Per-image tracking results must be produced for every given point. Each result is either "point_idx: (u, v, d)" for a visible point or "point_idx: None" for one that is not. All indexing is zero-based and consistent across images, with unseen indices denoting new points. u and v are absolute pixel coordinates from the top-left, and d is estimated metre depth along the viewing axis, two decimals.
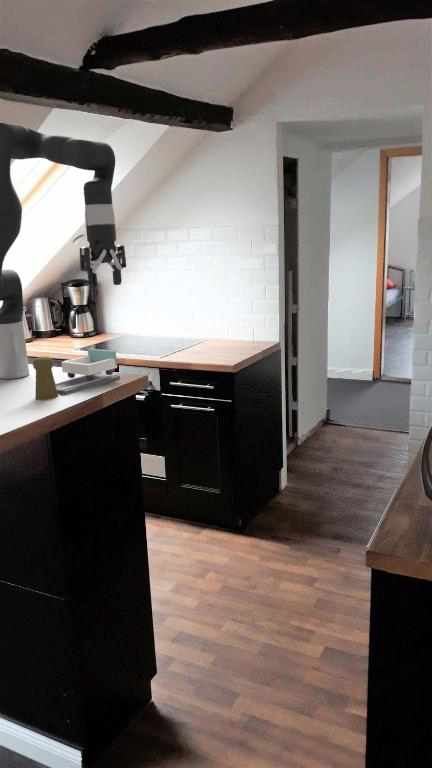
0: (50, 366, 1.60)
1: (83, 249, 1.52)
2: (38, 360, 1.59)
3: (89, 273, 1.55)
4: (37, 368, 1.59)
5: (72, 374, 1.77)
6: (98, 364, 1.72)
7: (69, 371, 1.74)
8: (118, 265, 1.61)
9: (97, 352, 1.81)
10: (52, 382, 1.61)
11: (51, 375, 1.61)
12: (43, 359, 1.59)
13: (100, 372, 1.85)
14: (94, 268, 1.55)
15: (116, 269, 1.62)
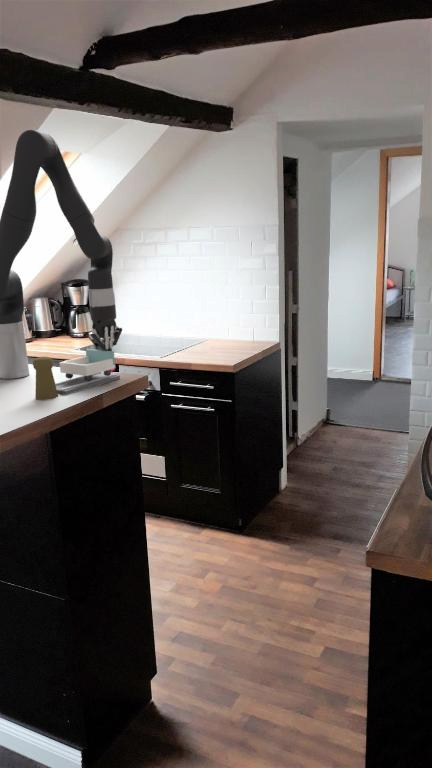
0: (50, 366, 1.60)
1: (90, 336, 1.76)
2: (38, 360, 1.59)
3: (103, 349, 1.81)
4: (37, 368, 1.59)
5: (70, 375, 1.76)
6: (96, 365, 1.72)
7: (67, 372, 1.74)
8: (111, 343, 1.82)
9: (95, 352, 1.80)
10: (52, 382, 1.61)
11: (51, 375, 1.61)
12: (43, 359, 1.59)
13: (100, 372, 1.85)
14: (106, 345, 1.80)
15: None
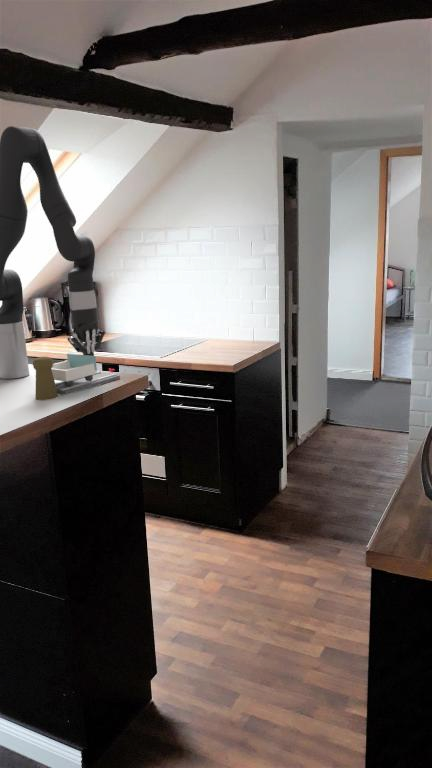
0: (50, 366, 1.60)
1: (71, 340, 1.70)
2: (38, 360, 1.59)
3: (84, 353, 1.75)
4: (37, 368, 1.59)
5: None
6: (76, 370, 1.66)
7: None
8: (92, 347, 1.76)
9: (76, 357, 1.75)
10: (52, 382, 1.61)
11: (51, 375, 1.61)
12: (43, 359, 1.59)
13: (100, 372, 1.85)
14: (88, 350, 1.75)
15: None
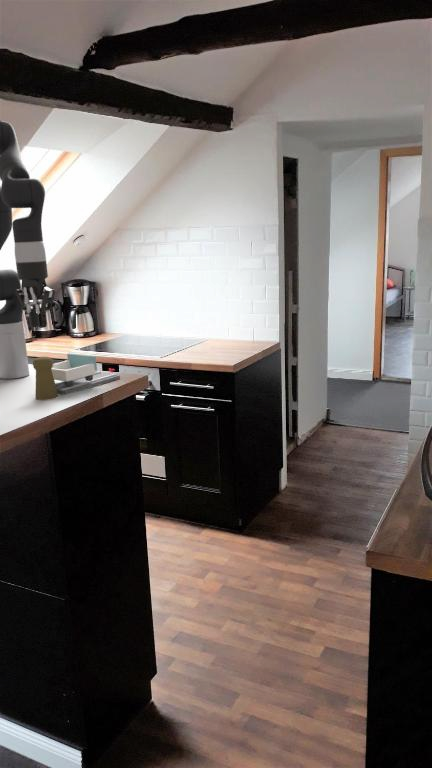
0: (50, 366, 1.60)
1: None
2: (38, 360, 1.59)
3: None
4: (37, 368, 1.59)
5: None
6: (77, 370, 1.66)
7: None
8: (37, 307, 1.55)
9: (77, 357, 1.75)
10: (52, 382, 1.61)
11: (51, 375, 1.61)
12: (43, 359, 1.59)
13: (100, 372, 1.85)
14: (27, 308, 1.58)
15: None
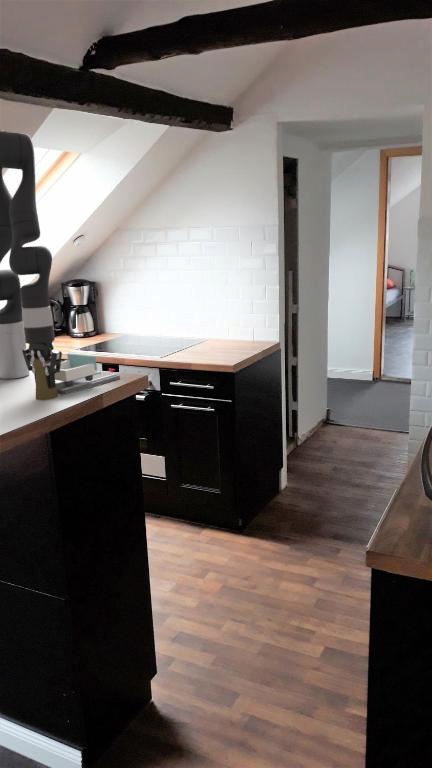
0: None
1: None
2: (38, 360, 1.59)
3: None
4: (37, 368, 1.59)
5: None
6: (77, 370, 1.66)
7: None
8: (46, 369, 1.59)
9: (77, 357, 1.75)
10: None
11: None
12: None
13: (100, 372, 1.85)
14: (33, 369, 1.62)
15: None
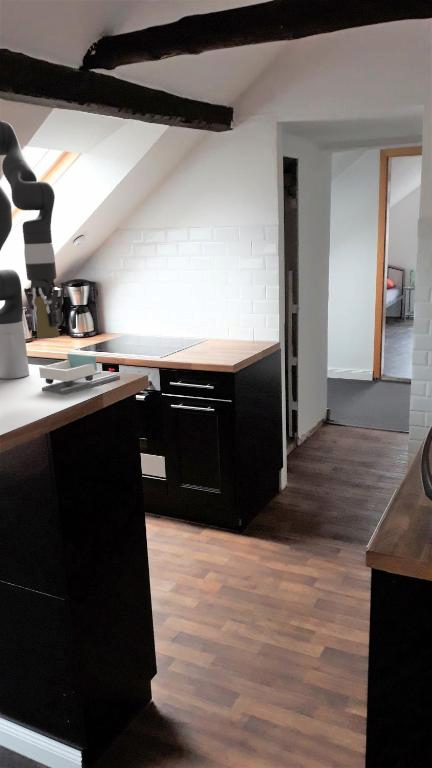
0: None
1: None
2: (39, 297, 1.58)
3: None
4: (38, 306, 1.59)
5: (50, 380, 1.70)
6: (77, 370, 1.66)
7: (47, 377, 1.68)
8: (47, 307, 1.59)
9: (77, 357, 1.75)
10: None
11: None
12: None
13: (100, 372, 1.85)
14: (34, 307, 1.62)
15: None
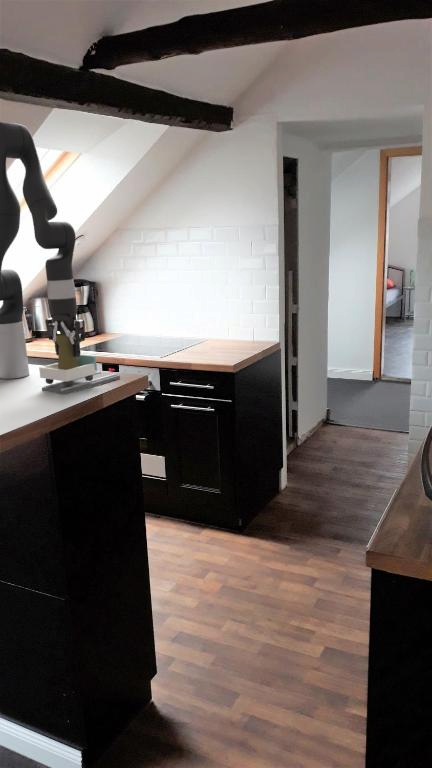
0: None
1: None
2: (61, 336, 1.67)
3: None
4: (60, 343, 1.67)
5: (50, 380, 1.70)
6: (77, 370, 1.66)
7: (47, 377, 1.68)
8: (71, 338, 1.66)
9: (77, 357, 1.75)
10: None
11: None
12: (66, 335, 1.68)
13: (100, 372, 1.85)
14: (54, 338, 1.70)
15: None
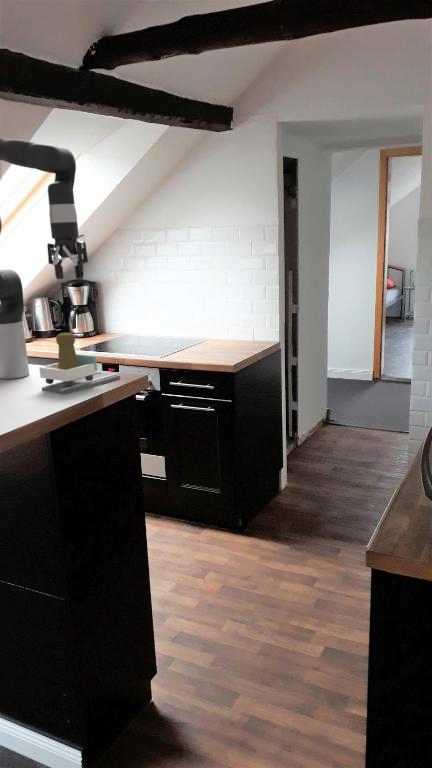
0: (72, 341, 1.69)
1: None
2: (61, 336, 1.67)
3: None
4: (60, 343, 1.67)
5: (50, 380, 1.70)
6: (77, 370, 1.66)
7: (47, 377, 1.68)
8: (74, 260, 1.71)
9: (77, 357, 1.75)
10: (74, 356, 1.70)
11: (73, 350, 1.70)
12: (66, 335, 1.68)
13: (100, 372, 1.85)
14: (54, 262, 1.76)
15: None
